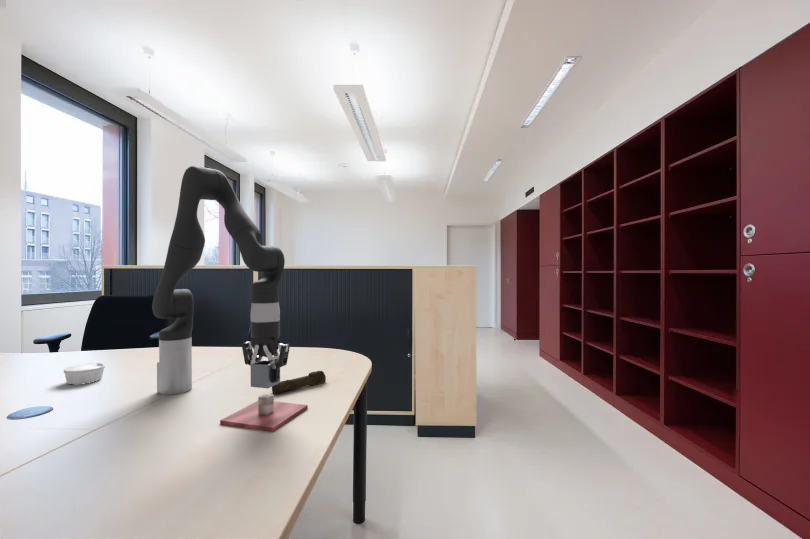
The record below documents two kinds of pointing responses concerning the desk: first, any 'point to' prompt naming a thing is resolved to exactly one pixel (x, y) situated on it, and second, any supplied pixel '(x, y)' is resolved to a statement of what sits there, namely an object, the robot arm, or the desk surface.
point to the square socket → (262, 374)
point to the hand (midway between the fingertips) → (265, 380)
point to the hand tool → (300, 382)
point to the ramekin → (84, 373)
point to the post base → (264, 414)
